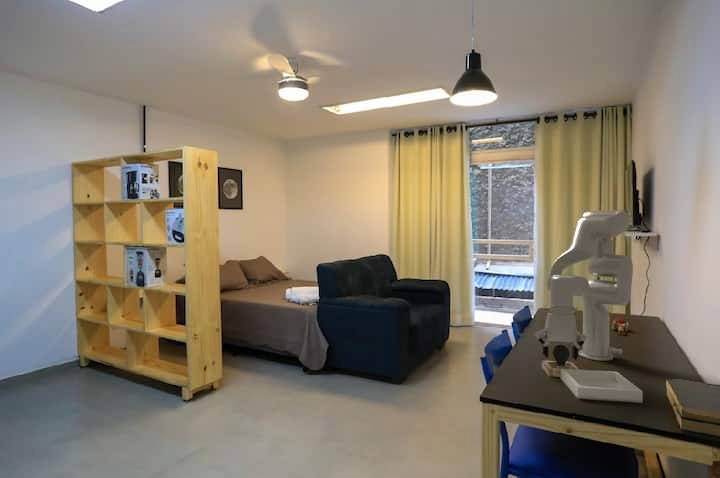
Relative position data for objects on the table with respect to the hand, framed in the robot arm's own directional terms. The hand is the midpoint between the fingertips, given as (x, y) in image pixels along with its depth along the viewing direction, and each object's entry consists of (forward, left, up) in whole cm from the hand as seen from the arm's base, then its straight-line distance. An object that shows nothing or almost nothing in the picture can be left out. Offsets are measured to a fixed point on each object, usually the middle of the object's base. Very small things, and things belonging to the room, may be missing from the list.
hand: (560, 357), depth 153 cm
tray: (-7, +16, -6) cm, 18 cm away
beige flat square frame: (0, 0, -6) cm, 6 cm away
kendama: (-50, -75, -6) cm, 90 cm away
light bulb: (0, 0, -6) cm, 6 cm away
